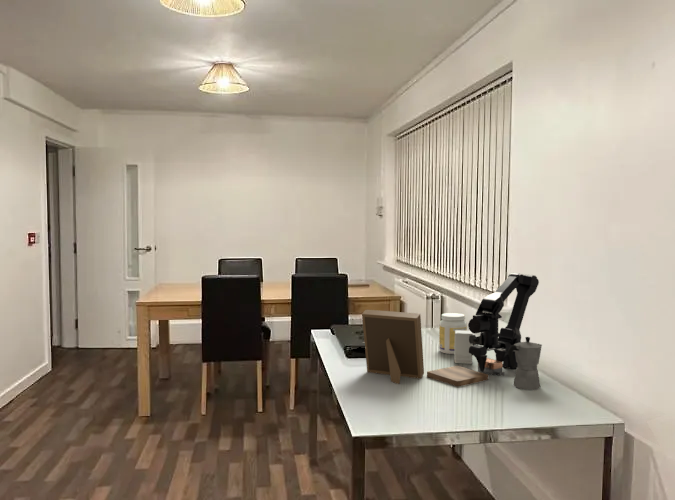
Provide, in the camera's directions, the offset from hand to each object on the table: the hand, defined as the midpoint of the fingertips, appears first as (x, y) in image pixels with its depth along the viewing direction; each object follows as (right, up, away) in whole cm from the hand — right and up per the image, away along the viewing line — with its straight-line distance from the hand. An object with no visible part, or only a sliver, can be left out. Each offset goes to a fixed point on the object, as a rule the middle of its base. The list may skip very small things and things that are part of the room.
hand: (490, 369), depth 228 cm
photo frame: (-40, -2, -7) cm, 40 cm away
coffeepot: (+7, -2, -19) cm, 21 cm away
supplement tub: (-8, +1, +35) cm, 35 cm away
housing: (0, -1, 0) cm, 1 cm away
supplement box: (-7, 0, +17) cm, 18 cm away
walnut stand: (-15, -2, -9) cm, 17 cm away
